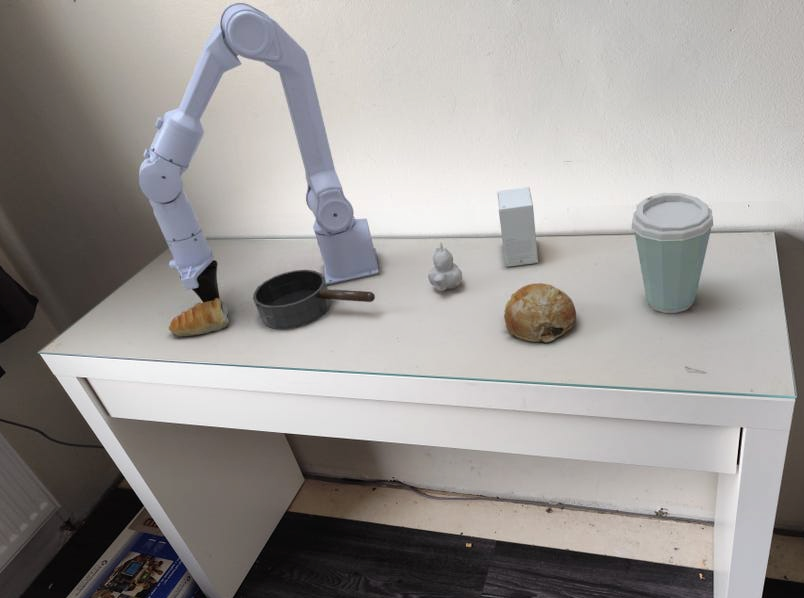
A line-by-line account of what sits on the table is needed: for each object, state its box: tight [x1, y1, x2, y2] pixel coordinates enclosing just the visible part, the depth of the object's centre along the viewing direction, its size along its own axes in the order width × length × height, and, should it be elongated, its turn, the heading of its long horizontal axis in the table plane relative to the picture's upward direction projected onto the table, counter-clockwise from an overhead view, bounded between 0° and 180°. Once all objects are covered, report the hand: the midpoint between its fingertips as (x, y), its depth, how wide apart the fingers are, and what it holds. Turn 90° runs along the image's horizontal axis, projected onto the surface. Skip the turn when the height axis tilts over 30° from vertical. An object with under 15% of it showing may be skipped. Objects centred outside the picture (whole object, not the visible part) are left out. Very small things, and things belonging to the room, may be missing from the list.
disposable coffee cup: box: [630, 192, 714, 314], centre depth 93 cm, size 11×11×15 cm
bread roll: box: [503, 282, 577, 344], centre depth 96 cm, size 10×10×8 cm
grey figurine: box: [427, 242, 463, 291], centre depth 107 cm, size 5×7×8 cm
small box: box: [496, 186, 539, 268], centre depth 112 cm, size 8×6×10 cm
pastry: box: [168, 298, 229, 338], centre depth 110 cm, size 9×7×4 cm
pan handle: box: [319, 288, 376, 303], centre depth 106 cm, size 10×2×2 cm, turn 71°
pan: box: [252, 269, 332, 330], centre depth 110 cm, size 12×12×4 cm
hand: (214, 305), depth 114 cm, fingers closed
